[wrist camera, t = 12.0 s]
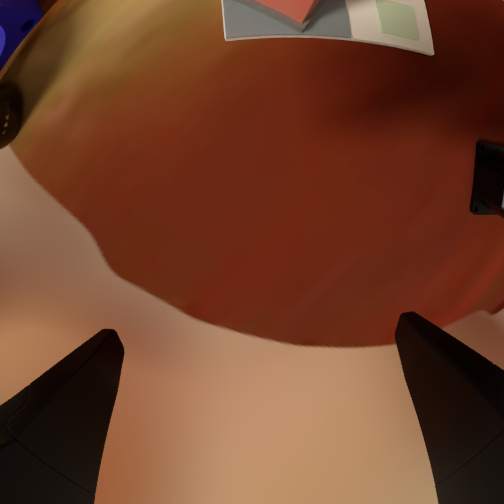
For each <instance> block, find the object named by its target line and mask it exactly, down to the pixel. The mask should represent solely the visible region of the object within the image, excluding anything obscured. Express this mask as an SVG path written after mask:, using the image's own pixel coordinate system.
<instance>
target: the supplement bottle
mask: <svg viewBox="0 0 504 504" xmlns="http://www.w3.org/2000/svg"><path fill="white" fill-rule="evenodd" d="M21 116H22V97H21V93H20V90H19V88H18V86H17V85H16V84H15V83H14V82H13V81H11V80H8V79H0V149H2V148H4V147H6V146H7V145H8V144H9V143H10V142H11V141H12V139H13V138H14V136H15V135H16V132H17V130H18V128H19V125H20V121H21Z"/></svg>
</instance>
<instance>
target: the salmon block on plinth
mask: <svg viewBox="0 0 504 504" xmlns="http://www.w3.org/2000/svg"><path fill="white" fill-rule="evenodd" d="M233 1H235V2H238V3H240V4H242V5H245V6H247V7H249V8H252V9H254V10H256V11H258V12H260V13H263V14H265V15H267V16H269V17H271V18H273V19H275V20H277V21H279V22H281V23H283V24H284V25H286V26H288V27H290V28H292V29H294V30H295V31H297V32H299V33H302V31H303V30H304V29H305V27H306V26H307V25H308V24H309V22H310V21H311V20H312V18H313V17H314V16H315V15H316V13H317V12H318V11H319V9H320V8H321V7H322V6H323V5H324V3H325V2H326V1H327V0H233Z"/></svg>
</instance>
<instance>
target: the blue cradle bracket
mask: <svg viewBox="0 0 504 504" xmlns="http://www.w3.org/2000/svg"><path fill="white" fill-rule="evenodd" d="M43 16H44V14H43V12H42V10H41V8H40V6H39V4H38V2H37V0H0V70H1V69H2V67H3V66H4V64H5V63H6V62H7V60H8V59H9V57H10V56H11V55H12V53H13V52H14V51H15V49H16V48H17V47H18V46H19V44H20V43H21V42H22V41H23V39H24V38H25V37H26V36H27V34H28V33H29V32H30V31H31V30H32V29H33V27H34V26H35V25H36V24H37V23H38V22H39V21H40V20H41V18H42V17H43Z"/></svg>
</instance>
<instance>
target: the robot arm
mask: <svg viewBox="0 0 504 504" xmlns="http://www.w3.org/2000/svg"><path fill="white" fill-rule="evenodd" d="M481 146H482V148H481ZM474 209H475V210H474ZM470 212H471V213H473V214H475V215H499V216H501V217H502V218H504V147H503V146H499V145H495V144H490V143H486V142H481V141H479V142H477V145H476V159H475V171H474V181H473V190H472V197H471V204H470ZM395 341H396V345H397V348H398V352H399V356H400V360H401V364H402V369H403V373H404V377H405V380H406V383H407V386H408V389H409V392H410V395H411V398H412V401H413V404H414V407H415V410H416V414H417V417H418V420H419V424H420V427H421V430H422V434H423V437H424V441H425V445H426V448H427V452H428V456H429V460H430V464H431V468H432V473H433V477H434V482H435V487H436V492H437V497H438V503H439V504H504V370H502V369H501V368H500V367H498V366H497V365H495V364H493V363H492V362H491V361H489V360H488V359H486V358H485V357H483V356H481V355H480V354H479V353H477V352H476V351H474V350H473V349H471V348H469V347H468V346H467V345H465V344H464V343H462V342H461V341H459V340H457V339H456V338H454V337H453V336H451V335H450V334H448V333H447V332H445V331H443V330H442V329H440V328H439V327H437V326H436V325H434V324H433V323H431V322H429V321H428V320H426V319H425V318H423V317H422V316H420V315H418V314H417V313H415V312H413V311H410V312H404V313H402V314H401V315H400V317H399V321H398V324H397V328H396V331H395ZM123 358H124V347H123V345H122V343H121V341H120V338H119V336H118V334H117V332H116V331H115V330H114V329H102V330H101V331H100V332H98V333H97V334H96V335H94V336H93V337H91V338H90V339H89V340H87V341H86V342H85V343H83V344H82V345H81V346H79V347H78V348H77V349H75V350H74V351H73V352H71V353H70V354H69V355H67V356H66V357H65V358H63V359H62V360H61V361H59V362H58V363H57V364H55V365H54V366H53V367H51V368H50V369H49V370H47V371H46V372H45V373H43V374H42V375H41V376H40V377H38V378H37V379H36V380H34V381H33V382H32V383H30V385H28V386H26V387H25V388H24V389H23V390H21V391H20V392H19V393H17V394H16V395H15V396H13V397H12V398H11V399H9V400H8V401H6V402H5V403H3V404H2V405H0V504H94V500H95V493H96V487H97V481H98V475H99V470H100V464H101V459H102V454H103V450H104V445H105V441H106V436H107V431H108V427H109V423H110V419H111V415H112V411H113V407H114V404H115V400H116V396H117V392H118V387H119V381H120V375H121V369H122V363H123Z"/></svg>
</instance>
